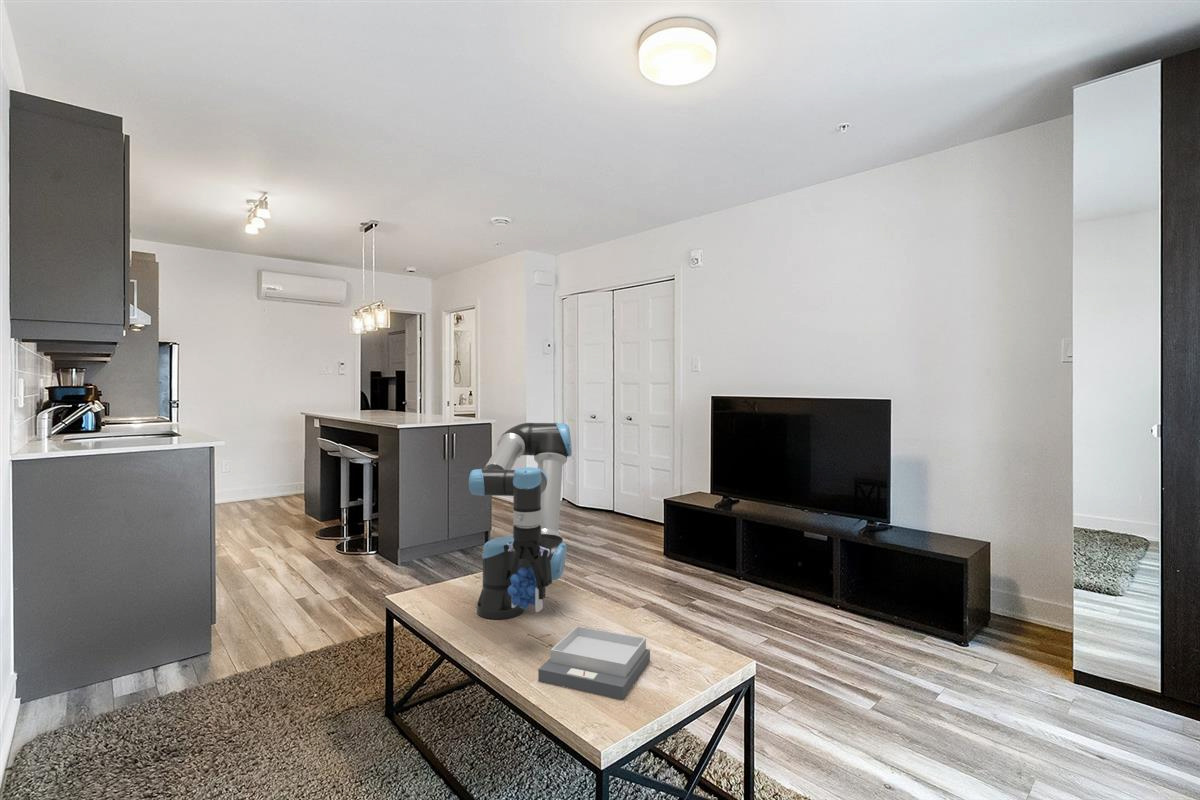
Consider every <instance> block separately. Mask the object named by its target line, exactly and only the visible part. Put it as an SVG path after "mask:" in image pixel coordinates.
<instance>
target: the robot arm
mask: <svg viewBox="0 0 1200 800" xmlns="http://www.w3.org/2000/svg"><path fill="white" fill-rule="evenodd" d="M571 437H572V436H571V431H570V426H568V424H566V423H559V422H524V423H520V424H517V425H515V426H513V427H511V428H509V429H507V430H506V431H505V432H503V434H501V436H500V437H499V438H498V441H497V443H496V444H497V447H496V449H495V450H494V452H493V453H492V455H491V456H490V458H489V460H488V462H487V463H486V464H485V466H484V467H483V469H482V468H477V469H472V470H471V471H470V473H469V478H468V490H469V492H470V494H471V495H473V496H482V497H485V496H486V497H487V496H488V497H489V496H491V497H493V496H498V497H501V496H502V497H503V496H505V497H513V510H512V511H513V512H512V513H513V515H512V517H513V523H512V524H513V525H514V526H513V527H512V531H513V532H512V534H513V535H505V536H500V537H496V538H492V539H490V540H488V541H487V542H485V543H484V545H483V547H482V556H481V558H482V589H481V592H480V595H479V597H478V601H477V603H476V613H477V615H478V616H480V617H481V618H484V619H489V620H504V619H506V620H507V619H511V618H514V617H517V616H519V615H521V614H522V613H523V612H524V611H525V609H522V608H520V606H519V605H517V606H515V605H513V604H512V602H511V598H512V596H510V595H509V594H508V587H509V586H510V585H513V584H511V582H510V578H511V576H512V575H513V574H517V575H518V570H519V568H521V567H524V568H526V569H528V568H533V571H534V575H535V578H536V581H537V584H538V587H536V588H535V605H534V606H535V607H534V608H535V612H536V613H539V612H540V611H541V610H543V604H544V603H543V600H544V599H545V598H546V588H547V587H548V586H550V585H552V583H553V581H556V580H560V579H561V577H562V575H563V573H564V569H565V565H566V561H567V560H566V558H567V551H568V546H567V543H565V542H564V539H563V536H562V535H561V534H560V533H559V531H560V529H559V528H560V527H559V526H560V511H561V496H562V495H561V494H562V482H563V481H562V479H563V466H564V465H565V464H566V463H567V461H568V457H571V456H572V455H573V450H572V447H573V446H572V438H571ZM521 456H533V460H534V461H535V462H536V464H537V467H529V466H527V467H520V468H518V467H517V468H516V469H513V467H514V465H515V463H516V461H517V459H519V458H521Z"/></svg>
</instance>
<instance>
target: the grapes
mask: <svg viewBox="0 0 1200 800" xmlns="http://www.w3.org/2000/svg"><path fill="white" fill-rule="evenodd" d="M510 582H511V584H513V585H510V586H509V587H508V594H509V595H510V596H512V598H511V602H512V604H513V605H515V606H517V605H519V606H520V608H522V609H524V610H527V609H528V608H529V606H535V588H536V587H538V584H537V581H536V578H535V575H534V571H533V568H528V569H526V568H524V567H521V568H519V570H518V575H517V574H513V575H512V576H511V578H510Z"/></svg>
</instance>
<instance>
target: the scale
mask: <svg viewBox="0 0 1200 800" xmlns="http://www.w3.org/2000/svg"><path fill="white" fill-rule="evenodd" d="M650 662H651V650H650V649H648V648H647V638H646V637H642V636H636V635H630V634H624V633H618V632H613V631H608V630H601V629H595V628H590V627H584V626H579V625H577V626H576V627H573V629H572V630H571V631H569V632H568V633H567V634H566V635H565V636H564V637H563V638H562V639H561V640H560V641H558V642H557V643H556V644H555V645H554V646H553V647H551V649H550V658H549V659H548V660H547V661H545V662H544V663H543V664H542V665H541V666H540V667H539V668H538V669H537V672H538V673H537V674H538V675H537V677H538V682H540V683H544V682H545V684H548V683H549V685H553V684H554V685H553V686H557V685H559V686H558V687H562V686H564V688H566V687H568V689H572V690H575V689H576V691H579V692H580V691H581V692H586V693H589V694H593V695H598V696H602V697H607V698H612V699H617V700H621V701H623V700H625V698H626V697H627V694H629V692H630V690H631V689H632V688H633V686H634V685H635V683H636V682H637V681H638V679H639V677H641V674H642V673H643V672H644V670H645V669H646V668H647V666H648V664H649V663H650Z"/></svg>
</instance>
